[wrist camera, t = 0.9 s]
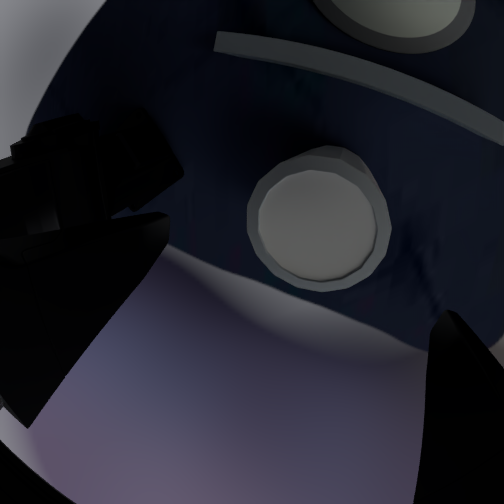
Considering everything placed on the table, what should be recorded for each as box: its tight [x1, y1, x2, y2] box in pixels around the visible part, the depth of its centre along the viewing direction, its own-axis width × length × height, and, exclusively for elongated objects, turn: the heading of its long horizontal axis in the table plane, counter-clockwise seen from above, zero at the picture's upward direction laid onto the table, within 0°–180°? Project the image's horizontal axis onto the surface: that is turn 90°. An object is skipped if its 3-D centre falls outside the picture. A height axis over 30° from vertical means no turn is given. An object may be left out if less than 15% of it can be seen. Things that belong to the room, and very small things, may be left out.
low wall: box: [213, 31, 504, 146], centre depth 14 cm, size 16×1×4 cm, turn 77°
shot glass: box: [247, 145, 392, 292], centre depth 17 cm, size 7×7×7 cm
